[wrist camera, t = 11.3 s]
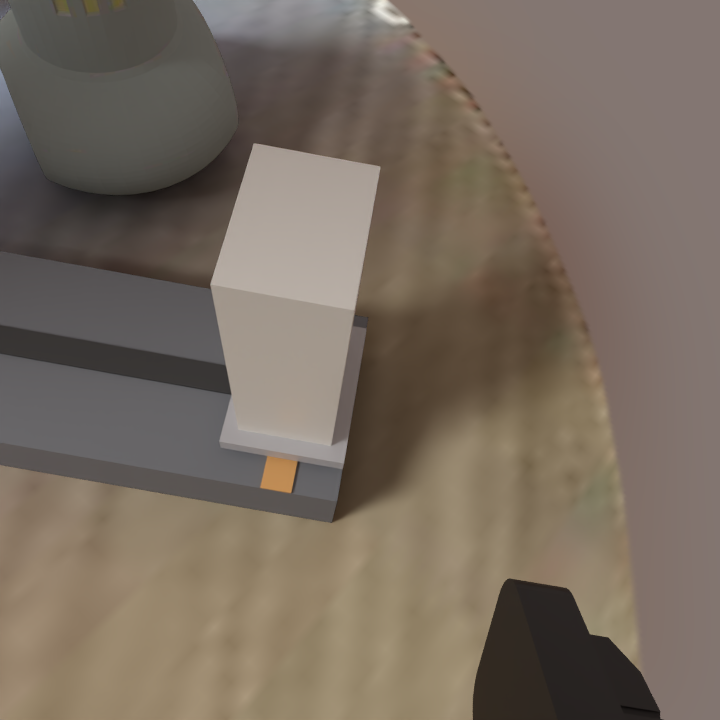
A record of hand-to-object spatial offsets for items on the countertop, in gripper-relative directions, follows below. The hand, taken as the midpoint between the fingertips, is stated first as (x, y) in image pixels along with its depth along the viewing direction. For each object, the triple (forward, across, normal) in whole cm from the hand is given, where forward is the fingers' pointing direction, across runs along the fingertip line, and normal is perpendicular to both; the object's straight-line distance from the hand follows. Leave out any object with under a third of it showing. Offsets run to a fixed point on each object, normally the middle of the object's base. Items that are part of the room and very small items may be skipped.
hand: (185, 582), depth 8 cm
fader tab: (+14, 0, +3) cm, 14 cm away
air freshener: (+26, +10, -4) cm, 28 cm away
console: (+16, +8, +5) cm, 19 cm away
